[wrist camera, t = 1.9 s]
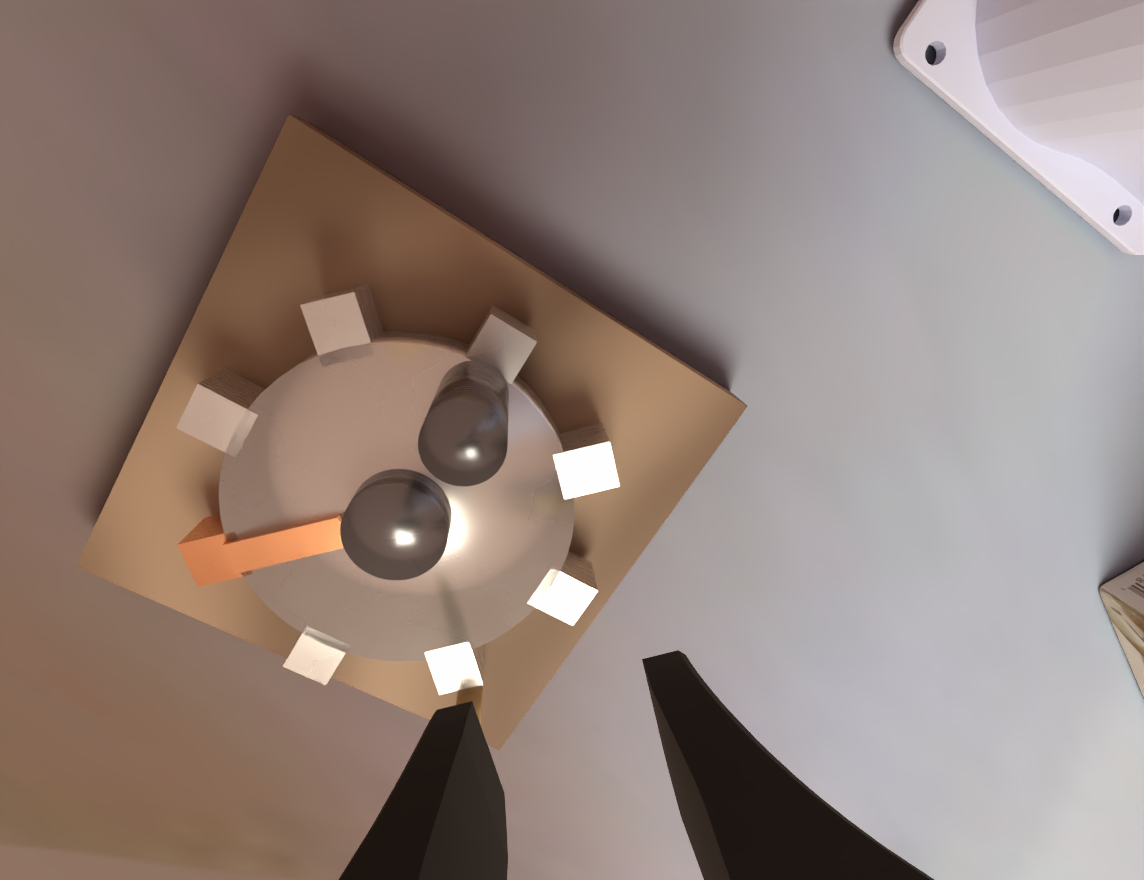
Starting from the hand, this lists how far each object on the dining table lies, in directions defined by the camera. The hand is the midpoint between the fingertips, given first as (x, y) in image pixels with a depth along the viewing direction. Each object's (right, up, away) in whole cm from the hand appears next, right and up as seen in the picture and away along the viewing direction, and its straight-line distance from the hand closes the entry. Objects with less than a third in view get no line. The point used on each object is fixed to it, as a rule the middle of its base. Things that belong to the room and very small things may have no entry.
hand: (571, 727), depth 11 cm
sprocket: (-4, +3, +6) cm, 8 cm away
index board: (-4, +4, +8) cm, 10 cm away
